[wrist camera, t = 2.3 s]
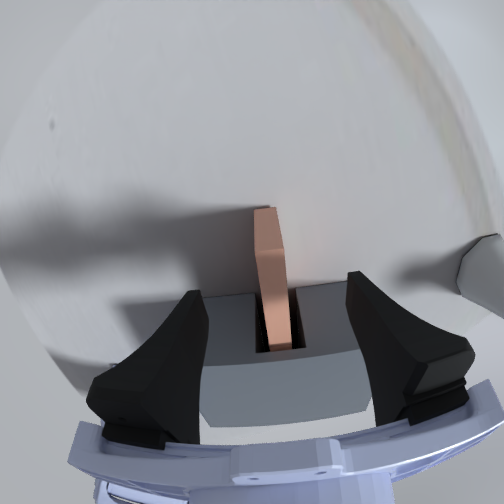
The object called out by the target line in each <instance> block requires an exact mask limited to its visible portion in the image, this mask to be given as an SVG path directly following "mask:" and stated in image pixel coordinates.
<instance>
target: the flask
mask: <svg viewBox="0 0 504 504" xmlns="http://www.w3.org/2000/svg"><path fill="white" fill-rule="evenodd" d="M456 283H457V286H458V288H459V290H460V292H461V294H462V297H464V298H466V299H468V300H470V301H472V302H474V303H476V304H478V305H480V306H482V307H484V308H486V309H488V310H489V311H491V312H493V313H495V314H496V315H498V316H500V317H502V318H503V319H504V241H503V239H502V237H501V235H500V234H498V235H494V236H489V237H484V238H482V239H481V240H480V241H479V242H478V243H477V244H476V245H475V246H474V247H473V248H472V249H471V250H470V251H469V252H468V253H467V254H466V255H465V256H464V257H463V258H462V262H461V266H460V270H459V274H458V278H457V281H456Z"/></svg>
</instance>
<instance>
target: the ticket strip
mask: <svg viewBox="0 0 504 504" xmlns="http://www.w3.org/2000/svg"><path fill="white" fill-rule="evenodd" d="M254 245H255V257H256V264H257V270H258V276H259V283H260V289H261V295H262V302H263V308H264V314H265V321H266V327H267V334H268V340H269V347H270V352H275V351H284V350H292V340H291V328H290V315H289V302H288V290H287V278H286V267H285V256H284V247H283V241H282V236H281V231H280V226H279V221H278V216H277V211H276V207H271V208H263V209H255V210H254Z"/></svg>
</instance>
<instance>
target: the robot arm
mask: <svg viewBox="0 0 504 504" xmlns="http://www.w3.org/2000/svg"><path fill="white" fill-rule="evenodd" d="M345 305H346V309H347V313H348V317H349V321H350V324H351V326H352V329H353V332H354V334H355V337H356V339H357V342H358V345H359V347H360V350H361V353H362V355H363V358H364V361H365V365H366V369H367V373H368V378H369V383H370V388H371V393H372V399H373V405H374V412H375V421H376V427H374V428H370V429H366V430H362V431H357V432H352V433H348V434H343V435H338V436H332V437H325V438H313V439H306V440H298V441H288V442H278V443H262V444H248V445H200V433H199V403H200V383H201V374H202V369H203V364H204V358H205V353H206V347H207V342H208V334H209V317H208V314H207V311H206V308H205V305H204V302H203V299H202V296H201V293H200V290H191V291H187V292H186V294H185V295H184V296H183V298H182V299H181V300H180V302H179V303H178V304H177V306H176V307H175V308H174V310H173V311H172V312H171V314H170V315H169V316H168V317H167V319H166V320H165V321H164V322H163V324H162V325H161V326H160V327H159V328H158V329H157V331H156V332H155V333H154V334H153V335H152V336H151V337H150V338H149V339H148V340H147V341H146V342H145V343H144V344H143V345H142V346H141V347H139V348H138V349H137V350H136V351H135V352H133V353H132V354H131V355H130V356H129V357H127V358H126V359H125V360H123V361H122V362H120V363H119V364H117V365H113V366H112V368H111V369H110V370H108V371H106V372H104V373H103V374H101V375H99V376H97V377H95V378H94V380H93V382H92V385H91V387H90V390H89V393H88V395H87V398H86V403H87V405H88V407H89V408H90V409H91V410H92V411H93V412H94V413H95V414H97V415H98V416H99V417H100V418H101V426H99V425H96V424H92V423H87V422H84V421H80V422H79V426H78V428H77V431H76V434H75V438H74V441H73V444H72V447H71V451H70V454H69V458H68V461H67V462H68V463H69V464H70V465H72V466H74V467H76V468H78V469H79V470H81V471H83V472H85V473H87V474H88V475H90V476H92V477H94V478H96V479H95V490H94V495H93V496H94V497H93V498H94V499H95V503H96V504H132V503H129V502H125V501H122V500H119V499H117V498H114V497H113V496H116V497H119V498H123V499H126V500H129V501H132V502H136V503H140V504H395V500H394V495H393V490H392V484H391V483H393V482H396V481H399V480H401V479H404V478H407V477H409V476H412V475H414V474H417V473H419V472H422V471H424V470H426V469H429V468H431V467H433V466H435V465H437V464H440V463H442V462H444V461H446V460H448V459H450V458H452V457H454V456H456V455H458V454H460V453H461V452H464V451H465V450H467V449H469V448H471V447H473V446H475V445H477V444H478V443H480V442H481V441H483V440H484V439H485V438H487V437H488V436H489V435H490V434H491V433H493V432H494V431H495V430H496V429H497V428H499V427H500V426H501V425H502V424H503V423H504V411H503V409H502V406H501V404H500V402H499V399H498V397H497V395H496V393H495V391H494V388H493V386H492V385H491V382H490V380H489V379H487V380H485V381H483V382H481V383H479V384H476V385H474V386H472V387H471V388H469V389H468V390H467V391H466V389H465V386H464V385H466V380H465V378H464V376H465V374H466V373H467V371H468V370H469V368H470V367H471V365H472V364H473V362H474V359H475V352H474V350H473V348H472V347H471V345H470V343H469V342H468V340H467V339H466V338H465V337H461V336H458V335H455V334H452V333H449V332H447V331H445V330H442V329H440V328H437V327H435V326H433V325H431V324H429V323H427V322H425V321H424V320H422V319H420V318H418V317H417V316H415V315H413V314H412V313H410V312H409V311H407V310H406V309H404V308H403V307H401V306H400V305H399V304H397V303H396V302H395V301H393V300H392V299H391V298H390V297H388V296H387V295H386V294H385V293H384V292H383V291H381V290H380V289H379V288H378V287H377V286H376V285H375V284H374V283H372V282H371V281H370V280H369V279H368V278H367V277H366V276H365V275H364V274H363V273H361V272H360V271H355V272H348V277H347V290H346V301H345ZM111 495H113V496H111Z"/></svg>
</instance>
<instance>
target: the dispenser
mask: <svg viewBox="0 0 504 504" xmlns="http://www.w3.org/2000/svg"><path fill="white" fill-rule="evenodd" d="M346 290H347V281H345V282H338V283H331V284H323V285H316V286H308V287H300V288H296V303H297V323H298V347H299V349H292V350H284V351H275V352H265V348H264V343H263V337H262V332H261V326H260V320H259V315H258V309H257V303H256V298H255V293H249V294H239V295H230V296H219V297H209V298H202V299H203V302H204V305H205V308H206V311H207V314H208V317H209V334H208V342H207V347H206V353H205V358H204V364H203V369H202V374H201V383H200V403H199V411H200V413H201V414H202V416H203V417H204V419H205V420H206V422H207V423H208V424H209V426H210V427H251V426H267V425H280V424H290V423H298V422H306V421H313V420H320V419H326V418H332V417H338V416H343V415H348V414H353V413H358V412H362V411H365V410H366V409H367V406H368V404H369V401H370V399H371V397H372V393H371V388H370V383H369V378H368V373H367V369H366V365H365V361H364V358H363V355H362V353H361V350H360V347H359V345H358V342H357V339H356V337H355V334H354V332H353V329H352V326H351V324H350V321H349V317H348V313H347V309H346V305H345V301H346Z"/></svg>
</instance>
